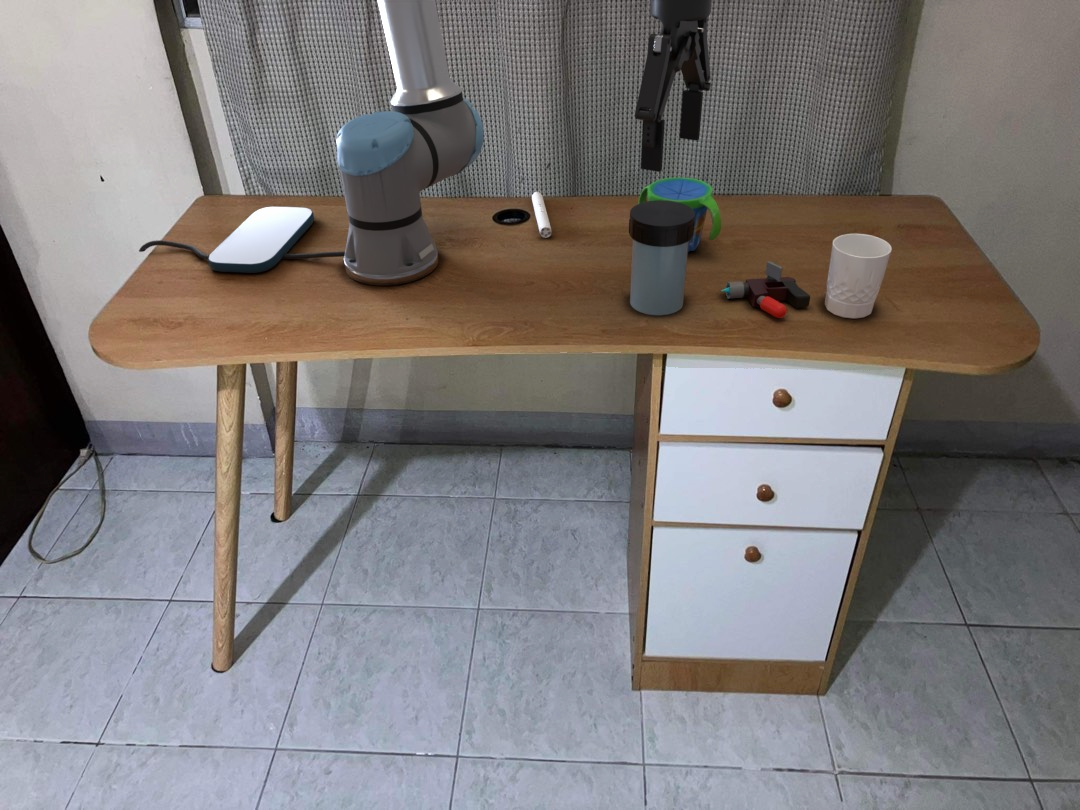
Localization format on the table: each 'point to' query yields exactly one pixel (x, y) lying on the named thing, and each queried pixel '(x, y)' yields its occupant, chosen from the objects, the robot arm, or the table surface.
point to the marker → (541, 215)
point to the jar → (658, 278)
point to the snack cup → (687, 202)
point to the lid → (661, 223)
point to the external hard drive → (261, 240)
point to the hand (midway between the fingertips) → (671, 153)
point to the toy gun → (770, 291)
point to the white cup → (855, 274)
